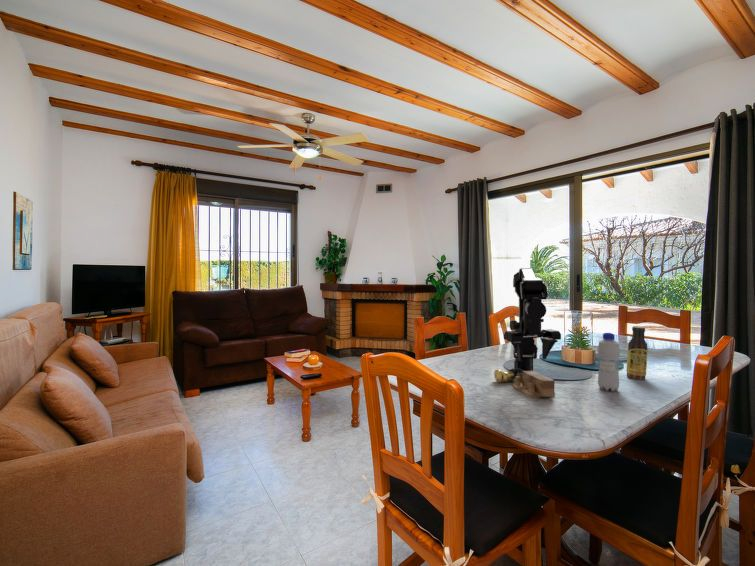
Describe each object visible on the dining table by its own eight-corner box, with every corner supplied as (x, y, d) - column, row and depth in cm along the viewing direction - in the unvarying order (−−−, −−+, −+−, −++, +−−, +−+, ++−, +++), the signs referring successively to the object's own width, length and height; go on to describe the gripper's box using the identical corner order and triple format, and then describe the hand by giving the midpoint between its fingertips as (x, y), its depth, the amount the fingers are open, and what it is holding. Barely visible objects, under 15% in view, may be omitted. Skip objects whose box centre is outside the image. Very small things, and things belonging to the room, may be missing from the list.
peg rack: (513, 386, 133) (513, 375, 133) (533, 385, 135) (533, 373, 134) (533, 397, 121) (533, 385, 121) (554, 396, 123) (555, 383, 123)
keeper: (518, 377, 144) (518, 367, 144) (530, 383, 137) (530, 373, 137) (507, 378, 143) (507, 368, 143) (518, 384, 136) (518, 374, 136)
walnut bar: (554, 395, 120) (554, 380, 120) (543, 396, 119) (543, 381, 119) (532, 384, 132) (532, 370, 132) (522, 385, 131) (522, 371, 131)
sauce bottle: (628, 379, 140) (629, 327, 139) (624, 375, 146) (625, 325, 145) (649, 381, 138) (650, 328, 137) (644, 376, 143) (645, 326, 143)
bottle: (595, 389, 129) (595, 333, 128) (599, 385, 134) (600, 330, 133) (617, 393, 124) (618, 335, 124) (621, 389, 129) (622, 332, 128)
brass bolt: (508, 379, 142) (508, 367, 142) (515, 382, 137) (515, 370, 137) (494, 380, 141) (494, 368, 141) (500, 383, 136) (500, 371, 136)
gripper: (541, 311, 137) (541, 353, 137) (495, 313, 133) (495, 356, 134) (562, 315, 126) (562, 360, 127) (512, 317, 122) (512, 363, 123)
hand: (532, 359), depth 128 cm, fingers open, 9 cm apart
